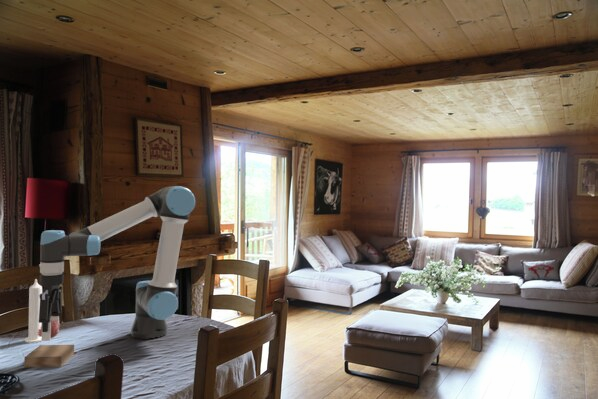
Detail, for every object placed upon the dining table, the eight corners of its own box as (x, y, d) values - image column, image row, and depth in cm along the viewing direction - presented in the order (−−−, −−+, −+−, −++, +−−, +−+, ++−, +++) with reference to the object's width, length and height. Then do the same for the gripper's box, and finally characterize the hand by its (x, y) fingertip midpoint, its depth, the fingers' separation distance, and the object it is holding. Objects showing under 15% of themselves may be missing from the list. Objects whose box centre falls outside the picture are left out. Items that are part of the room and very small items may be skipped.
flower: (61, 324, 158) (55, 313, 161) (37, 336, 154) (31, 324, 157) (66, 335, 164) (60, 324, 166) (43, 347, 159) (37, 336, 162)
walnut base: (73, 355, 168) (74, 344, 168) (61, 367, 156) (61, 356, 156) (39, 355, 166) (40, 345, 166) (24, 368, 154) (24, 357, 154)
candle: (48, 338, 184) (49, 278, 184) (33, 343, 177) (34, 281, 177) (36, 336, 186) (37, 276, 186) (20, 341, 180) (21, 279, 179)
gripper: (52, 268, 170) (50, 329, 170) (28, 278, 150) (26, 346, 151) (72, 268, 171) (71, 328, 171) (51, 278, 151) (49, 346, 152)
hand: (50, 337), depth 161 cm, fingers closed on flower, 6 cm apart
